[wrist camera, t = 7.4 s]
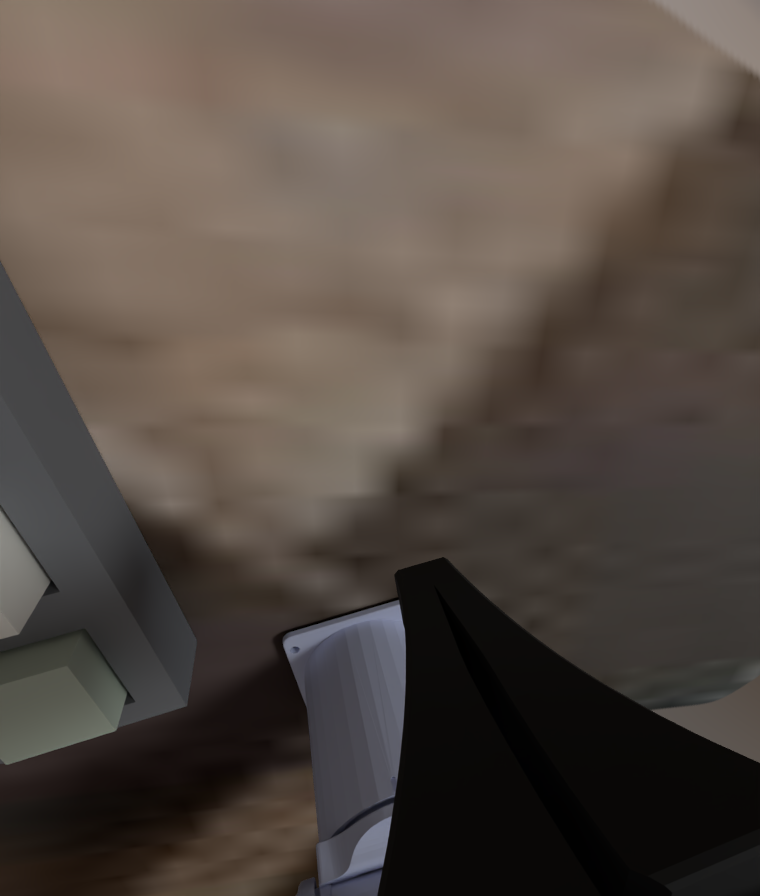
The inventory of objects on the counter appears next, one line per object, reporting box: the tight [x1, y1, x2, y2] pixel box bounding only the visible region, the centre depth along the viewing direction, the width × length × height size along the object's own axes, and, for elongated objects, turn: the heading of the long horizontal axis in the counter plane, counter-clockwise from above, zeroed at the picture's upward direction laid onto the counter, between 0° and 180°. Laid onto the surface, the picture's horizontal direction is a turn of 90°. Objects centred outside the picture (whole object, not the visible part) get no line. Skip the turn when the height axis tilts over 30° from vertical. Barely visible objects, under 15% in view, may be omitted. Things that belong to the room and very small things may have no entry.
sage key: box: [0, 628, 128, 765], centre depth 18 cm, size 4×4×4 cm
